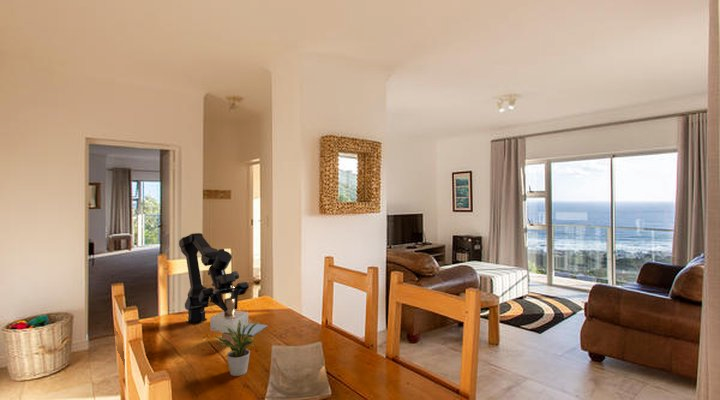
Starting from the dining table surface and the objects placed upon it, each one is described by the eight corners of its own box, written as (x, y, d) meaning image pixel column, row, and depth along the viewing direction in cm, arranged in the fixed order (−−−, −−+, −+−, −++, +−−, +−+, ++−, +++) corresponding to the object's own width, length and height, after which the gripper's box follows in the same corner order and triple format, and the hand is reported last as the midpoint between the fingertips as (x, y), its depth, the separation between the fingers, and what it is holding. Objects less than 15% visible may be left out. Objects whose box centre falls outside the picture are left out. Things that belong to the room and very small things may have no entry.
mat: (227, 333, 157) (227, 331, 157) (243, 323, 168) (243, 322, 168) (252, 336, 153) (252, 335, 153) (267, 326, 165) (267, 325, 165)
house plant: (247, 357, 133) (247, 311, 133) (271, 368, 125) (271, 319, 124) (209, 371, 122) (209, 321, 122) (233, 385, 114) (233, 331, 113)
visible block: (222, 343, 146) (222, 333, 146) (228, 340, 149) (228, 330, 149) (230, 345, 144) (231, 334, 144) (237, 341, 148) (237, 331, 148)
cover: (210, 330, 143) (210, 301, 143) (226, 321, 153) (226, 294, 153) (232, 333, 141) (232, 304, 140) (248, 324, 150) (248, 297, 150)
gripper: (201, 268, 143) (213, 303, 135) (246, 262, 156) (260, 293, 148) (193, 285, 148) (204, 319, 141) (238, 278, 162) (250, 309, 154)
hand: (231, 310), depth 146 cm, fingers closed on cover, 4 cm apart
